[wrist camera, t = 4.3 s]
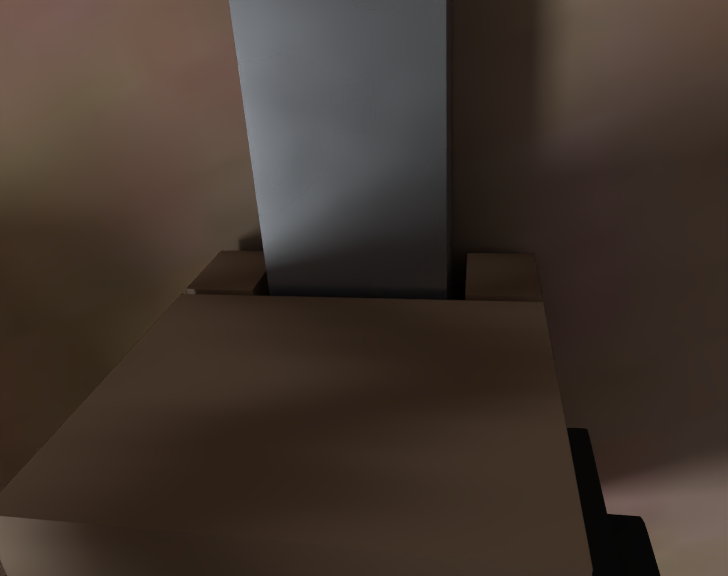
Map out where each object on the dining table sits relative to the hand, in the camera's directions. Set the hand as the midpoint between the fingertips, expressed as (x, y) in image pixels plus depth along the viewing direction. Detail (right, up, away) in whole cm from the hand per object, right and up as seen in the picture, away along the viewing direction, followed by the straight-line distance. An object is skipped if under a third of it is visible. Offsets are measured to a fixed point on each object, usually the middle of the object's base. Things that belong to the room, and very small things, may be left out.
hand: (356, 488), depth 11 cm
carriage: (+1, +1, +3) cm, 3 cm away
